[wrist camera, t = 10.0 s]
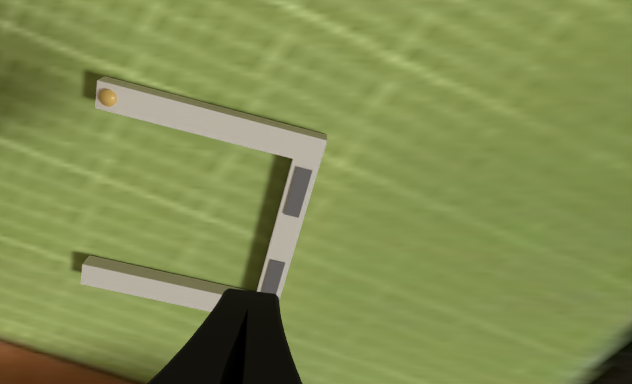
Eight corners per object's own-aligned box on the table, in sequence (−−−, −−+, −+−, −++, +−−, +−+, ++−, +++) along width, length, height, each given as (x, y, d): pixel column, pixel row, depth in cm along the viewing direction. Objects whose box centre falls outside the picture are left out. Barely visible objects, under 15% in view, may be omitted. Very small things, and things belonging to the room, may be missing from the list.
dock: (272, 314, 25) (271, 326, 25) (87, 274, 24) (79, 285, 24) (326, 134, 21) (327, 141, 20) (105, 75, 20) (95, 80, 19)
